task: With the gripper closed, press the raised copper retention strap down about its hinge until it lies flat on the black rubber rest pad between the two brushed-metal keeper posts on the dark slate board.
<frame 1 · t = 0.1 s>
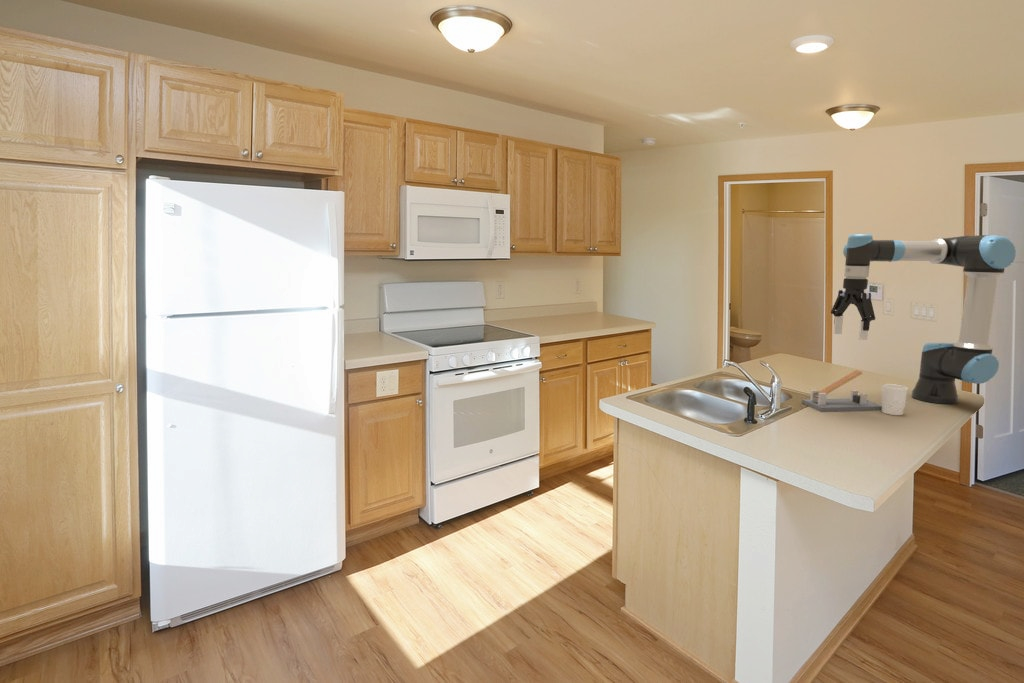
hand: (849, 336, 210), 28 cm above the worktop, fingers open, 13 cm apart
white cup: (892, 413, 213), on the worktop
mount: (841, 406, 221), on the worktop
strap: (837, 384, 219), point 9 cm above the worktop, hinge at 30.0°
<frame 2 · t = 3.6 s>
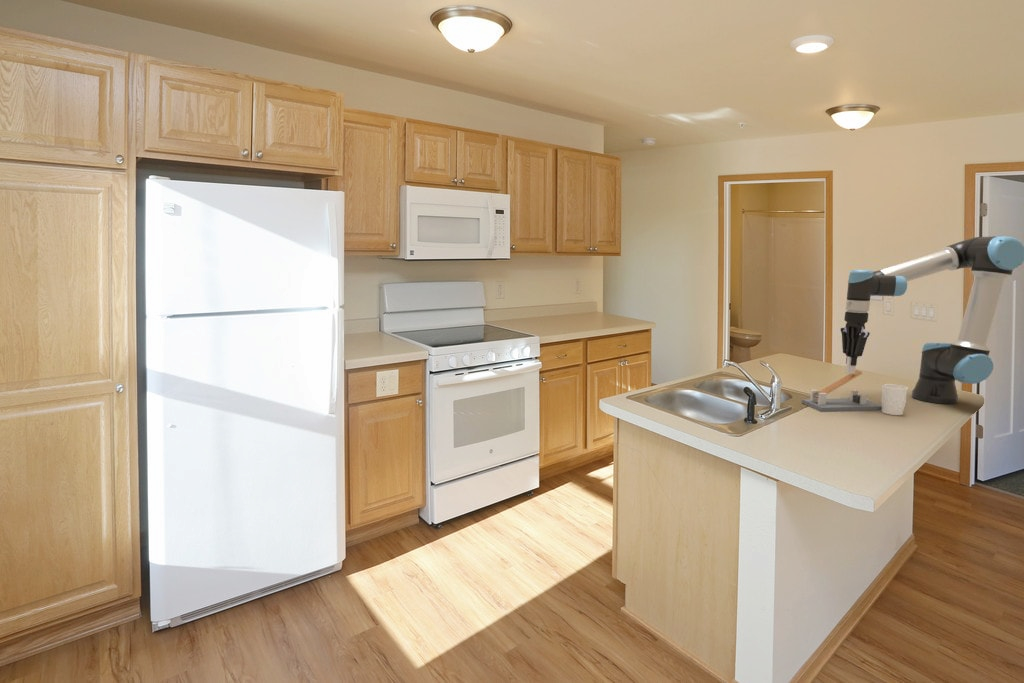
hand: (850, 373, 219), 13 cm above the worktop, fingers closed
strap: (837, 384, 219), point 9 cm above the worktop, hinge at 30.0°, touching gripper
everything else where it was.
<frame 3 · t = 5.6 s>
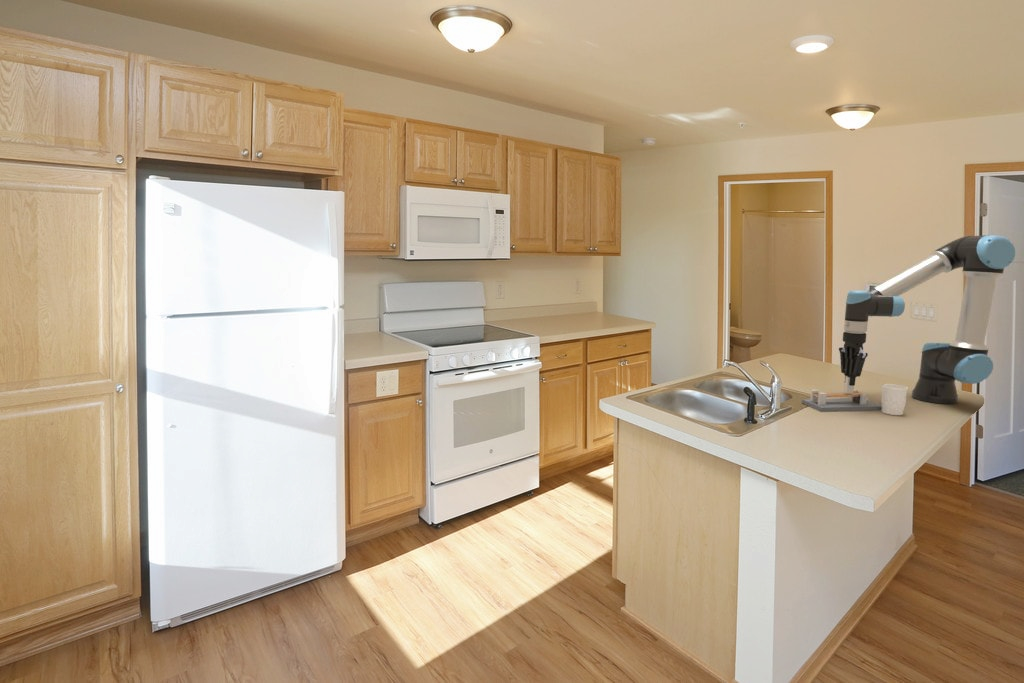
hand: (848, 393, 220), 5 cm above the worktop, fingers closed
strap: (839, 394, 220), point 5 cm above the worktop, hinge at 0.6°, touching gripper
everything else where it was.
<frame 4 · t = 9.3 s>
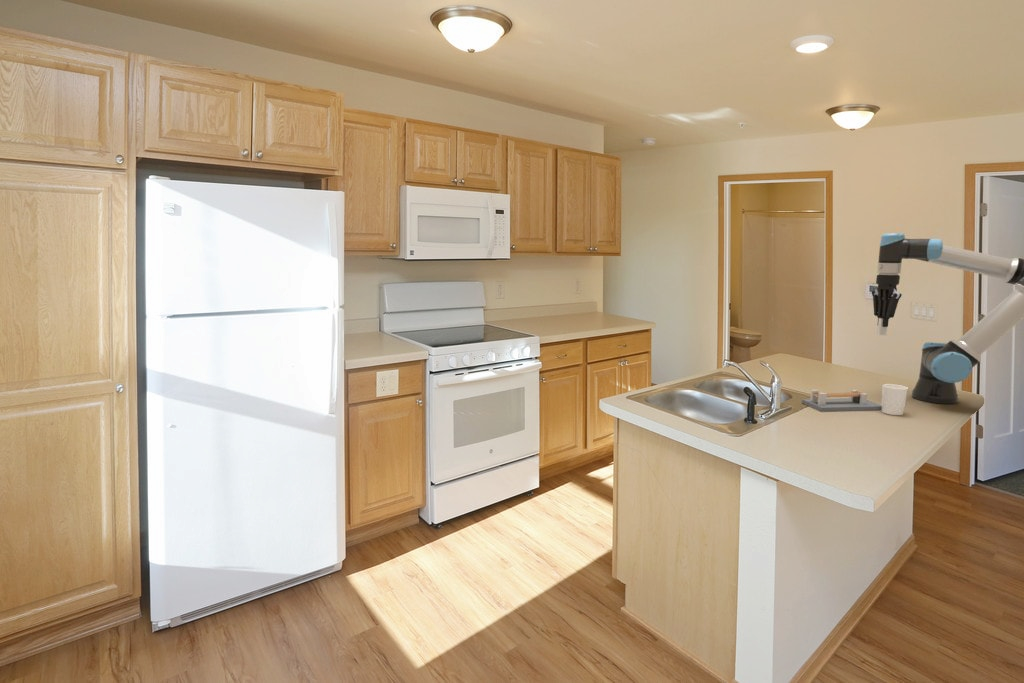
hand: (881, 334, 226), 26 cm above the worktop, fingers closed
strap: (839, 394, 220), point 5 cm above the worktop, hinge at 0.6°
everything else where it was.
at the end: strap at +1° (first picture: +30°) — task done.
